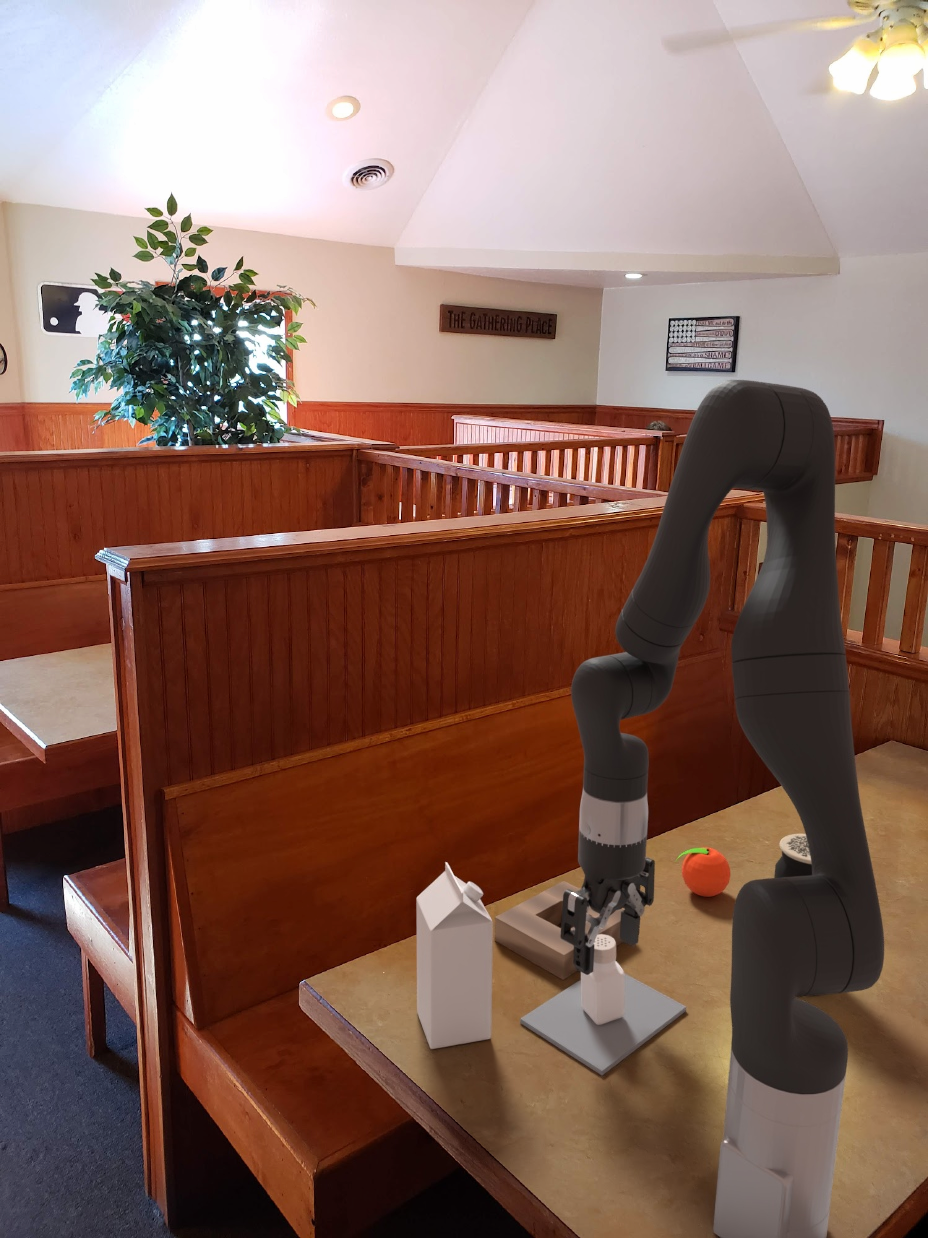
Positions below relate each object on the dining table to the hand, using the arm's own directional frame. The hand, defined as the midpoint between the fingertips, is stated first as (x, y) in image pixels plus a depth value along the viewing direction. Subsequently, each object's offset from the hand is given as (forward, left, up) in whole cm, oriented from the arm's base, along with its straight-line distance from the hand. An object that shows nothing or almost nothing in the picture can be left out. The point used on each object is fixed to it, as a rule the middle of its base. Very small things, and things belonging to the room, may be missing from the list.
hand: (606, 956), depth 110 cm
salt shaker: (0, 0, -8) cm, 8 cm away
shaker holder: (+9, +14, -8) cm, 18 cm away
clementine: (+33, +8, -8) cm, 35 cm away
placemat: (0, 0, -8) cm, 8 cm away
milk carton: (-14, +11, -8) cm, 20 cm away
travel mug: (+24, -12, -8) cm, 28 cm away
